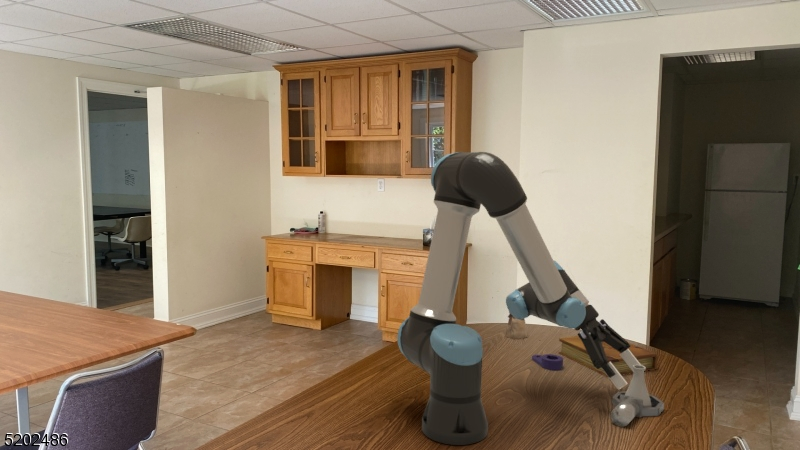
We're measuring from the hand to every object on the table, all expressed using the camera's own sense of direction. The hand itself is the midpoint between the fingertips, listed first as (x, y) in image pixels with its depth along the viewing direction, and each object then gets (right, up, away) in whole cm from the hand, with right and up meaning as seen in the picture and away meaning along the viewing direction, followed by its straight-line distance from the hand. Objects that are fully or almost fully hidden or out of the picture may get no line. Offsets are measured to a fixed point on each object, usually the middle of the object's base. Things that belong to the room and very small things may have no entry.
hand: (632, 379), depth 148 cm
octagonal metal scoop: (-1, -7, -4) cm, 8 cm away
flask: (+1, -6, 0) cm, 7 cm away
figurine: (-18, -1, +60) cm, 62 cm away
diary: (+5, -4, +34) cm, 35 cm away
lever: (-14, -4, +31) cm, 34 cm away
